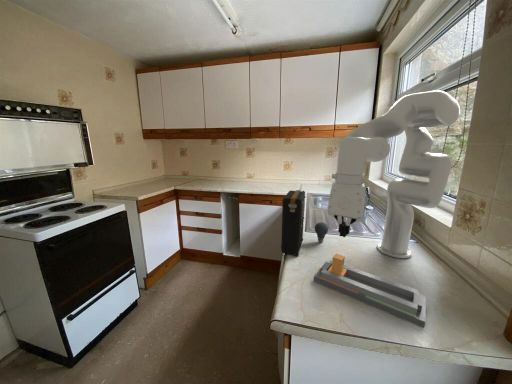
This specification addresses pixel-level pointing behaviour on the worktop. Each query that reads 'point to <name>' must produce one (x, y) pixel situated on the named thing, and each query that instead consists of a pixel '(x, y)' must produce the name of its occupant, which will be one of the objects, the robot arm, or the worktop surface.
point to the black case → (292, 222)
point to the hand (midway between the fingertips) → (343, 235)
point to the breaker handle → (338, 265)
